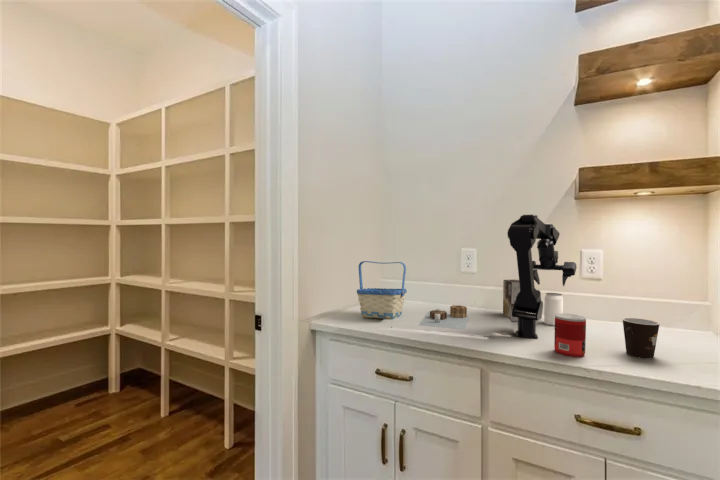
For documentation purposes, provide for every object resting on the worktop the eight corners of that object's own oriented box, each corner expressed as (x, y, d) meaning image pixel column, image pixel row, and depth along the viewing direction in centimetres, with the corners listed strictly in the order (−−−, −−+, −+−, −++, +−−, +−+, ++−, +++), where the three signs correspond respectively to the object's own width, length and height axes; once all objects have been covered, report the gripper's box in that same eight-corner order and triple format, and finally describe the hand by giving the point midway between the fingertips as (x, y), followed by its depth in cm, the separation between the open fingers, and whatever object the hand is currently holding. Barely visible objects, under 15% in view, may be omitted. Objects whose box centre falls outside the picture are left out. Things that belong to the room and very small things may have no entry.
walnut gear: (445, 320, 142) (445, 312, 142) (428, 318, 144) (428, 310, 144) (447, 316, 148) (447, 308, 148) (431, 315, 150) (431, 307, 150)
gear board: (466, 332, 128) (466, 321, 128) (418, 328, 134) (418, 316, 134) (468, 318, 151) (468, 308, 151) (427, 314, 157) (428, 305, 157)
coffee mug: (642, 350, 111) (642, 317, 111) (666, 360, 102) (667, 324, 102) (605, 350, 110) (605, 317, 110) (626, 360, 102) (627, 324, 102)
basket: (410, 316, 153) (411, 261, 153) (396, 324, 139) (396, 263, 139) (367, 311, 163) (367, 259, 163) (349, 318, 149) (349, 261, 148)
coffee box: (526, 321, 146) (527, 282, 146) (510, 321, 147) (511, 281, 146) (517, 316, 156) (518, 279, 155) (502, 316, 156) (502, 279, 155)
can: (561, 327, 138) (561, 295, 138) (542, 324, 142) (543, 294, 142) (563, 323, 143) (564, 293, 143) (545, 321, 147) (546, 292, 147)
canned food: (589, 358, 103) (590, 320, 103) (559, 356, 104) (560, 318, 104) (579, 350, 110) (579, 314, 110) (550, 348, 112) (551, 312, 112)
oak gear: (466, 318, 145) (466, 308, 145) (449, 317, 147) (449, 307, 147) (466, 315, 151) (467, 305, 151) (450, 314, 153) (451, 304, 153)
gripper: (576, 242, 142) (580, 274, 148) (526, 242, 154) (531, 272, 160) (572, 257, 135) (576, 291, 141) (519, 256, 147) (525, 287, 153)
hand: (551, 284), depth 149 cm, fingers open, 9 cm apart
